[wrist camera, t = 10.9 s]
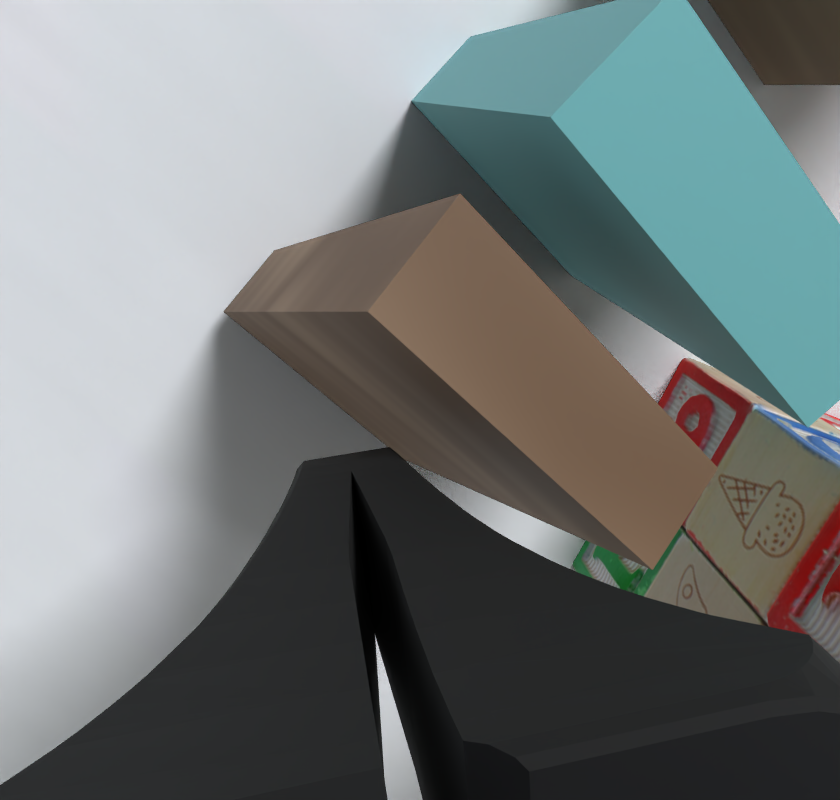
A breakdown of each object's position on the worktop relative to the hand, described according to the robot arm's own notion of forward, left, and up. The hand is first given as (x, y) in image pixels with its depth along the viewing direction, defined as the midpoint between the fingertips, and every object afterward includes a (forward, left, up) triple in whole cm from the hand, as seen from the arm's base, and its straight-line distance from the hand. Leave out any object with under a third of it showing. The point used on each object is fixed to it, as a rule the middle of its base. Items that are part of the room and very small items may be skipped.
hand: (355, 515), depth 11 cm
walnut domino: (0, 0, -6) cm, 6 cm away
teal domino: (0, +6, -6) cm, 9 cm away
